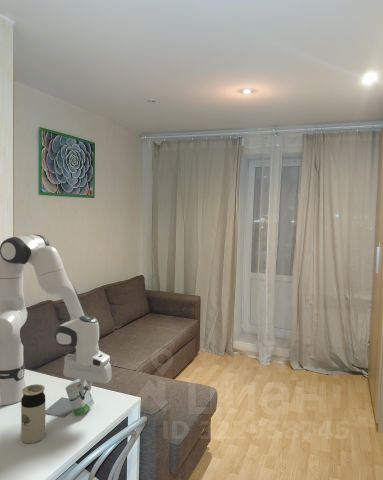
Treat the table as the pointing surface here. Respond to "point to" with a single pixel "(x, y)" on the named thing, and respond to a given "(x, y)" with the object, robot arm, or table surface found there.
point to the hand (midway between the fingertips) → (86, 389)
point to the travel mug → (33, 413)
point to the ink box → (79, 397)
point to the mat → (60, 408)
